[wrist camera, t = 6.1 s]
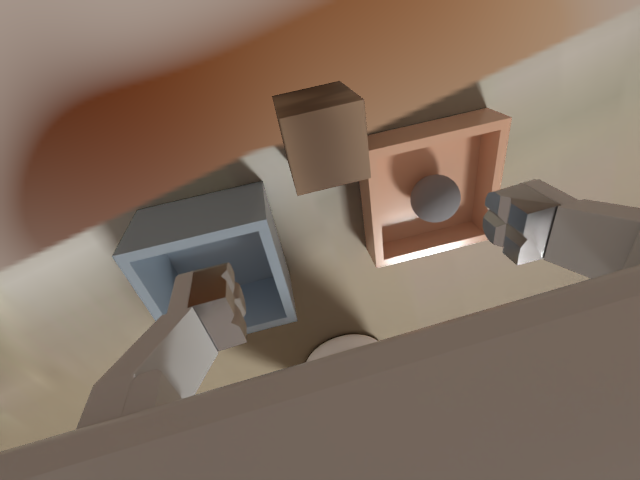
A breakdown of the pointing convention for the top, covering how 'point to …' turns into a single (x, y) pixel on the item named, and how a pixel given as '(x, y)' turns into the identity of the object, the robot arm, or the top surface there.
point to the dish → (423, 160)
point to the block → (324, 136)
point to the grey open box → (211, 251)
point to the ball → (435, 198)
